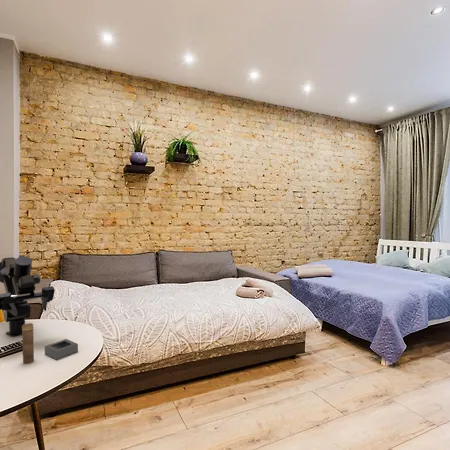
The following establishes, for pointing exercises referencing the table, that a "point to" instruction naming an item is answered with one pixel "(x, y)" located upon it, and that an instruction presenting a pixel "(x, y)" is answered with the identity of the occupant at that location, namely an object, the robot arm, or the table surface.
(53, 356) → the socket block
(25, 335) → the pin
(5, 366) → the table surface
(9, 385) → the table surface
